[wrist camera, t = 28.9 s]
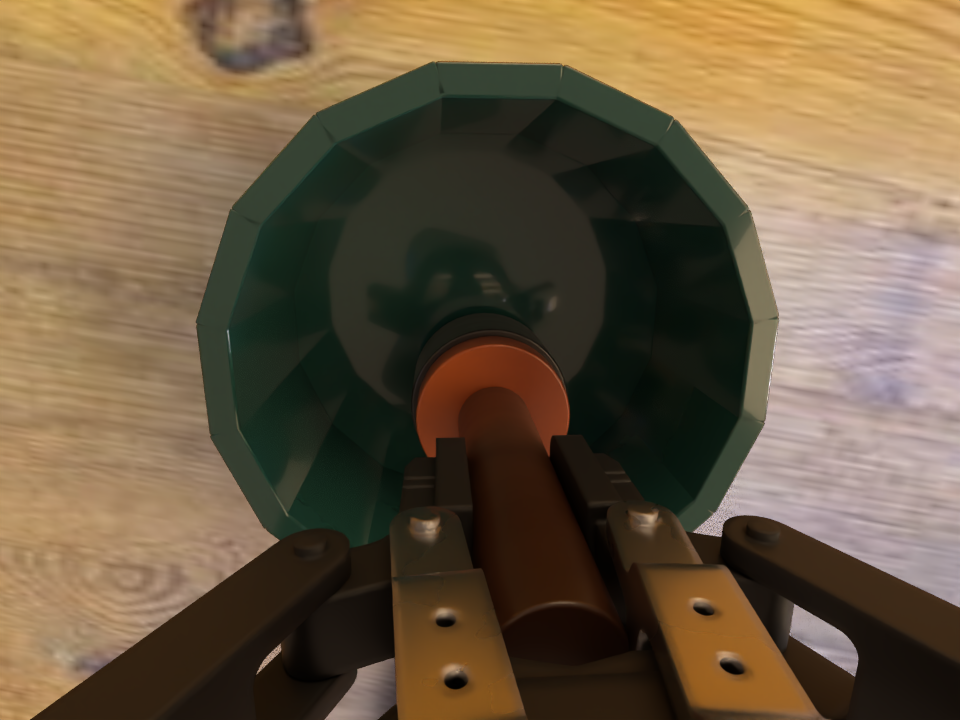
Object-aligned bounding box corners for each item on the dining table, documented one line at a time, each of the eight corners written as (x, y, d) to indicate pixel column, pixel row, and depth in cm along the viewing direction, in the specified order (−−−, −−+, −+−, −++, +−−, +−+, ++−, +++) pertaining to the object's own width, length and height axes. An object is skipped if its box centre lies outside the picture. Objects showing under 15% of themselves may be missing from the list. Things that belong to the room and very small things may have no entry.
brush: (416, 445, 22) (381, 821, 9) (412, 312, 21) (365, 510, 7) (549, 442, 23) (715, 798, 9) (554, 311, 21) (757, 499, 8)
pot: (295, 504, 24) (233, 632, 17) (260, 109, 20) (160, 55, 13) (653, 492, 25) (740, 608, 18) (686, 114, 21) (815, 66, 14)
